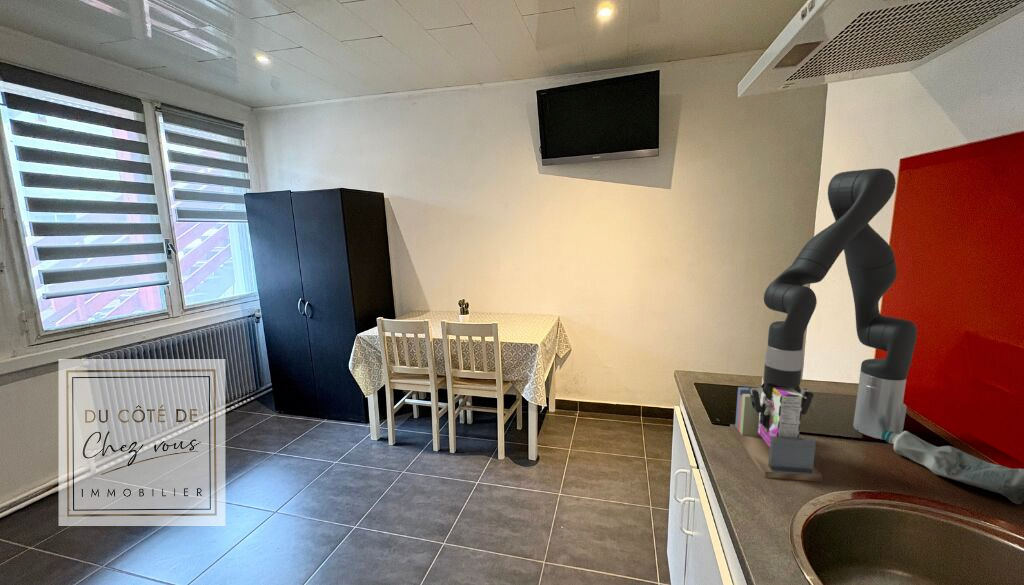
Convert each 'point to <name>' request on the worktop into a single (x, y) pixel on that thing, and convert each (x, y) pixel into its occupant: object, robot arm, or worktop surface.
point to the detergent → (959, 465)
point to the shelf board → (767, 457)
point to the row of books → (746, 414)
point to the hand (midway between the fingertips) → (777, 427)
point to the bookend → (792, 455)
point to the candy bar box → (782, 414)
